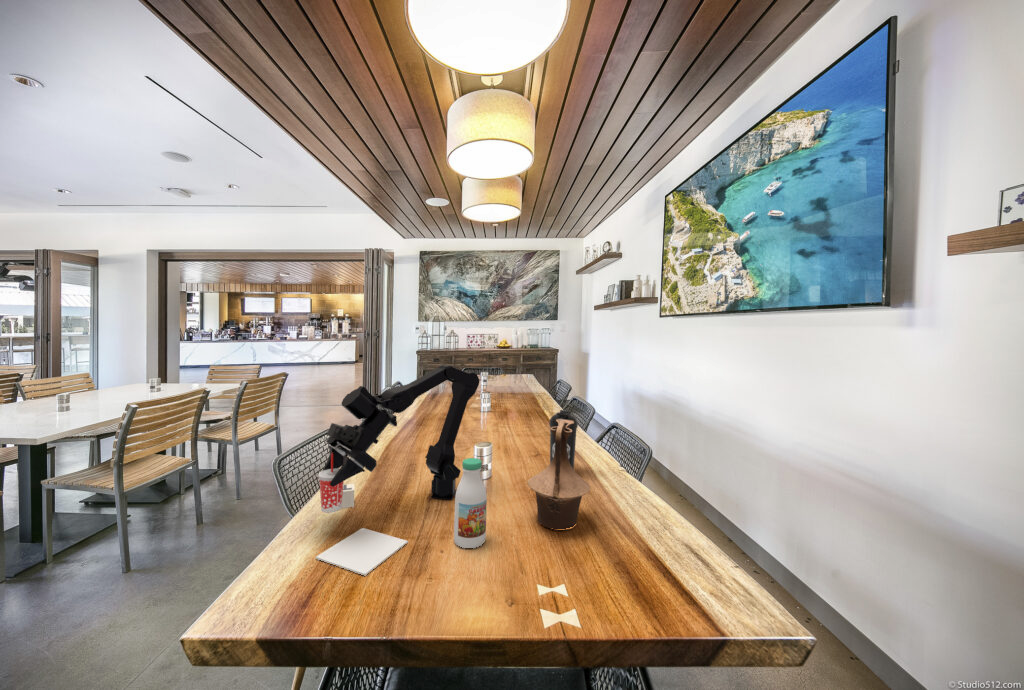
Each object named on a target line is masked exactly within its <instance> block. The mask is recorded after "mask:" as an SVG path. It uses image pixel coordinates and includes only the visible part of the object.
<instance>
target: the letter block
mask: <svg viewBox="0 0 1024 690" xmlns="http://www.w3.org/2000/svg"><path fill="white" fill-rule="evenodd" d="M349 507H352V508H354V507H355V483H348V484H343V496H342V507H341V509H340V510H344V509H349ZM343 508H344V509H343Z"/></svg>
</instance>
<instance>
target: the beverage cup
mask: <svg viewBox="0 0 1024 690" xmlns="http://www.w3.org/2000/svg"><path fill="white" fill-rule="evenodd" d="M339 469H340V468H338V469H337V468H335V469H333V453H331V469H328V470H324V471H323V470H322V471H319V473H318V475H317V476H318V479H319V492H320V510H321V512H322V513H325V514H329V513H336V512H339V511H340V510H342V509H341V507H342V496H343V485H344V483H345V482H344V481H343V482H341V483H339V484H337V485H336V486H334V487H332V486H331V485H330V482H331V481H332V479H333V478H334V476H335V475H336V473H337V472H338V471H339Z"/></svg>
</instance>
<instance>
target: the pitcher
mask: <svg viewBox="0 0 1024 690" xmlns="http://www.w3.org/2000/svg"><path fill="white" fill-rule="evenodd" d="M556 422H557V423H558V426H556V427H551V432H552V433H553V435H554V437H555V454H554V457H553V460H552V461H551V463H550V462H549V464H548V465H547V467H546V468H544V469H542V470H541V471H540V472H539V473H537V474H535V475H534V476H531V477H530V478H529V479H528V480H527V486H528V488H529V489H530V490H532V491H534V492H535V497H536V498H535V500H536V510H537V518H536V519H538V520H537V522H538V524H540V523H541V524H542V525H544V526H546V527H548V528H553V529H566V528H570V527H573V526H574V525H575V524H576V523H577V524H578V515H579V511H580V506H581V501H582V497H583V496H584V495H587V494H588V493H589V492H590V490H591V485H590V484H589V483H588V482H587V481H586V480H584V479H583V478H582V477H581V476H580V475H579V474H578V473H577V472H576V471H575V469H574V470H573V468H572V466H571V464H570V462H569V459H568V453H567V439H568V438H569V436H570V434H571V433H572V430H571V429H569V427H570V426H571V425H572V424H574V421H571V420H562V419H557V420H556ZM565 423H568V424H567V425H566V426H565ZM541 524H540V525H541ZM542 525H541V526H542ZM544 526H543V527H544ZM546 527H545V528H546ZM548 528H547V529H548Z"/></svg>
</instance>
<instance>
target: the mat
mask: <svg viewBox="0 0 1024 690" xmlns="http://www.w3.org/2000/svg"><path fill="white" fill-rule="evenodd" d="M407 543H408V544H409V541H408V540H407V539H402V538H399V537H395V536H392V535H389V534H386V533H382V532H378V531H375V530H371V529H368V528H364V527H362V528H360V529H358V530H357V531H356V532H354V533H352V534H350V535H349V536H347V537H345V538H344V539H342V540H340V541H339V542H337V543H336V544H334V545H332V546H331V547H329V548H328V549H326V550H323V552H320V554H317V555H316V556H315V560H316V559H318V560H317V561H319V560H321V561H324V562H327V563H330V564H333V565H336V566H339V567H341V568H344V569H347V570H350V571H353V572H355V573H358V574H361V575H364V576H366V575H367V574H368V573H369V572H370V571H372V570H373V569H374V568H375V567H377V566H378V565H379V564H381V563H382V562H383V561H385V560H386V559H387V558H388V557H390V556H391V555H392V554H394V553H395V552H396V551H398V550H399V549H400V548H401V549H402V547H403V546H404V545H405V544H407ZM408 544H407V545H408ZM405 546H406V545H405ZM405 546H404V547H405ZM404 547H403V548H404ZM401 549H400V550H401ZM400 550H399V551H400ZM399 551H398V552H399ZM396 553H397V552H396ZM396 553H395V554H396ZM395 554H394V555H395ZM392 556H393V555H392ZM392 556H391V557H392ZM391 557H390V558H391ZM387 560H388V559H387ZM387 560H386V561H387ZM321 561H320V562H321ZM386 561H385V562H386ZM324 562H323V563H324ZM327 563H326V564H327ZM383 563H384V562H383ZM383 563H382V564H383ZM330 564H329V565H330ZM382 564H381V565H382ZM333 565H332V566H333ZM336 566H335V567H336ZM378 567H379V566H378ZM378 567H377V568H378ZM341 568H340V569H341ZM344 569H343V570H344ZM347 570H346V571H347ZM350 571H349V572H350ZM373 571H374V570H373ZM373 571H372V572H373ZM353 572H352V573H353ZM355 573H354V574H355ZM358 574H357V575H358ZM369 574H370V573H369ZM369 574H368V575H369ZM361 575H360V576H361ZM368 575H367V576H368ZM364 576H363V577H364ZM367 576H366V577H367Z"/></svg>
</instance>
